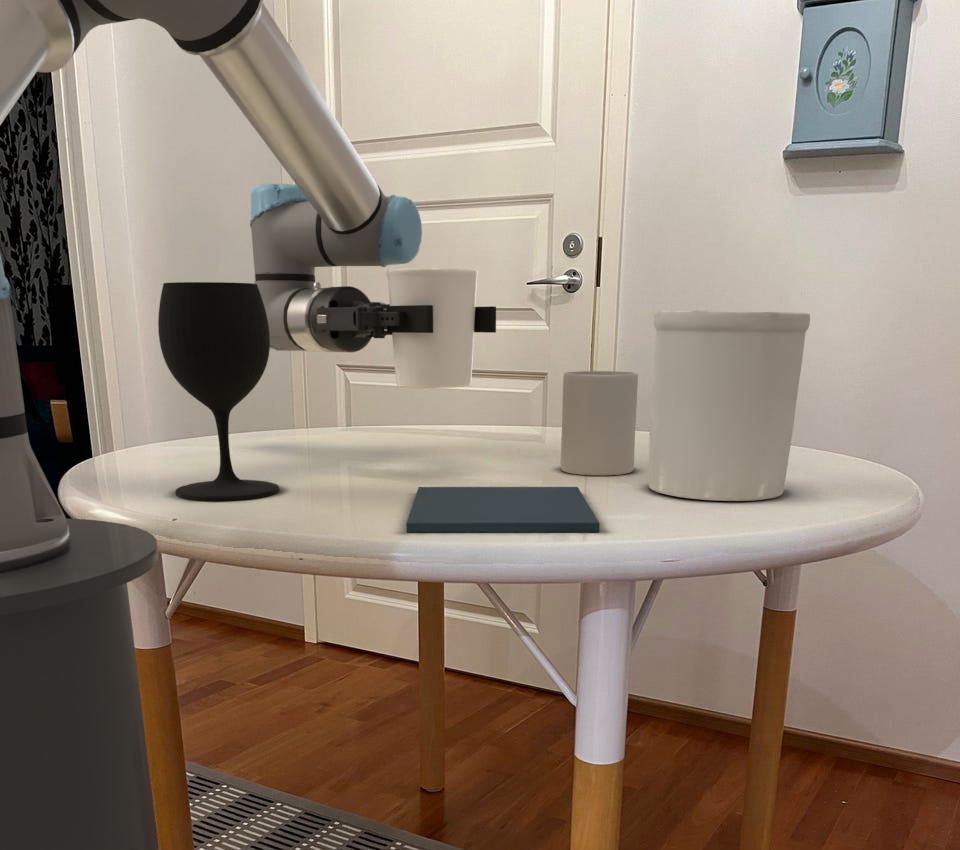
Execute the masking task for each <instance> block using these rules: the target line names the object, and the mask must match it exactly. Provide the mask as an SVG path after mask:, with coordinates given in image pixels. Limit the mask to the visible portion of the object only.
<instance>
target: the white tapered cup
mask: <svg viewBox="0 0 960 850" xmlns="http://www.w3.org/2000/svg"><path fill="white" fill-rule="evenodd" d="M385 273H386V277H387V287H388V299H389V301H388V302H389V304H390V306H407V305H433V333H392V335H391V336H392V337H391V338H392V348H393V349H392V350H393V361H394V372H395V382H396V386H397V387H400V388H415V389H416V388H417V389H444V388H445V389H446V388H447V389H449V388H464V387H470V386H471V385H472V376H473V364H474V363H473V360H474V344H475V332H474V325H475V307H476V306H477V305H476V304H477V303H476V301H477V283H478V276H479V271H478V270H477V269H473V268H472V269H471V268H457V267H453V268H452V267H408V268H406V267H405V268H391V269H387V270H386V272H385Z"/></svg>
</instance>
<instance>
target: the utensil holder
mask: <svg viewBox="0 0 960 850" xmlns="http://www.w3.org/2000/svg"><path fill="white" fill-rule="evenodd" d="M653 315H654V316H653V326H654V329H655V341H654V353H653V368H652V386H651V401H650V402H651V403H650V415H649V416H650V417H649V418H650V419H649V432H648V433H649V438H648V469H647V472H648V473H647V486H648V488H649V489H650V490H652V491H654V492H655V493H659V494H662V495H666V496H670V497H678V498H684V499H692V500H702V501H716V502H718V501H720V502H721V501H722V502H748V501H749V502H750V501H762V500H764V501H765V500H770V499H775V498H779V497H780V496H782V495H783V493H784V491H785V486H786V485H785V484H786V480H787V472H788V464H789V459H790V451H791V445H792V439H793V432H794V424H795V414H796V407H797V401H798V394H799V393H798V392H799V385H800V378H801V371H802V366H803V365H802V364H803V357H804V350H805V349H804V348H805V340H806V333H807V331H808V330H809V327H810V323H811V314H810V313H807V312H791V311H790V312H789V311H756V310H755V311H753V310H751V311H750V310H748V311H747V310H655V311H654V313H653Z"/></svg>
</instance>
